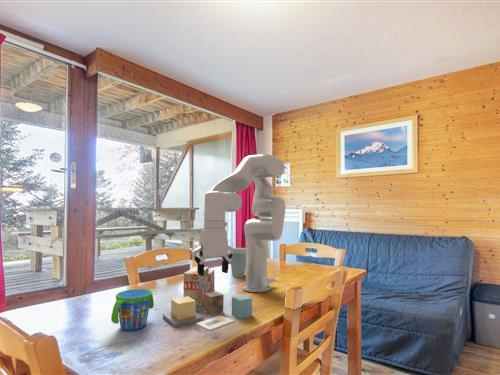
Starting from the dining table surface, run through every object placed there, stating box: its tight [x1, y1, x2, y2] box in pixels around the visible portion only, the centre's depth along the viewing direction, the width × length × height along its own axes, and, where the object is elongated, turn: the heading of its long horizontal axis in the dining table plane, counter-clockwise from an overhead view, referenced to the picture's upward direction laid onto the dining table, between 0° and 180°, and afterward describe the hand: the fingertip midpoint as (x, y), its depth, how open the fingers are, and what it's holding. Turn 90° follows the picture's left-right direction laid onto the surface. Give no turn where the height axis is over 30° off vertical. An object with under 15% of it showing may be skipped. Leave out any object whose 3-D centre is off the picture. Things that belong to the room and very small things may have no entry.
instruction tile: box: [195, 314, 235, 331], centre depth 97 cm, size 10×7×1 cm
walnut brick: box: [203, 290, 224, 315], centre depth 108 cm, size 5×5×6 cm
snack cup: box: [110, 288, 155, 331], centre depth 94 cm, size 16×10×10 cm
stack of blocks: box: [183, 266, 216, 307], centre depth 124 cm, size 21×6×12 cm, turn 171°
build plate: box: [162, 296, 205, 328], centre depth 100 cm, size 10×10×6 cm
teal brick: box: [231, 294, 253, 320], centre depth 104 cm, size 5×5×6 cm
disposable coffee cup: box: [230, 247, 246, 278], centre depth 163 cm, size 11×11×15 cm
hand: (213, 273), depth 108 cm, fingers open, 9 cm apart
